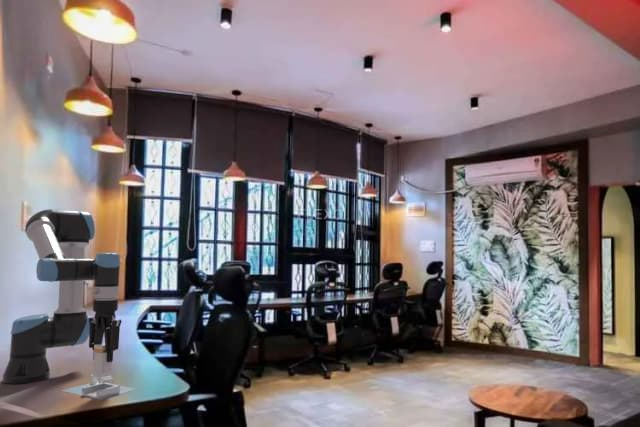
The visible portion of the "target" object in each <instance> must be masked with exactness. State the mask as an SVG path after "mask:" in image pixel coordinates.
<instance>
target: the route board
mask: <svg viewBox="0 0 640 427" xmlns="http://www.w3.org/2000/svg"><path fill="white" fill-rule="evenodd" d="M97 382H99V380H97ZM88 386H91V385H90V382H89V383H86V384H82V385H78V386H73V387H69V388H65V389H62V390H60V391H61V392H65V393H69V394H73V395H77V396H81V397H83V396H82V388H84V387H88ZM119 386H120V393H118V394H115V395H111V396H108V397H105V398H101V399H97V400H99V401H101V400H104V399H108V398H112V397H115V396H118V395H122V394H125V393H128V392H133V391H135V390H137V388H133V387H128V386H125V385H124V386H123V385H119ZM84 397H85V398H87V397H86V396H84ZM88 398H90V397H88ZM90 399H91V398H90Z"/></svg>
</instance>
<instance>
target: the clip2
mask: <svg viewBox="0 0 640 427" xmlns="http://www.w3.org/2000/svg"><path fill="white" fill-rule="evenodd" d="M113 379H114V378H113V377H112V375H109V376H106V377H102V381H101V383H103V382H105V383H110V384H114V383H113V382H114V380H113Z"/></svg>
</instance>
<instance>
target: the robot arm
mask: <svg viewBox="0 0 640 427" xmlns="http://www.w3.org/2000/svg"><path fill="white" fill-rule="evenodd" d="M24 228H25V229H24V230H25V234H26V236H27V238H28V240H30V241H31V242H32V243H33V246H34V248H35V250H36V253H37V255H38V258H39V259H38V261H37V263H36V270H35V271H36V272H35V274H36V277H37V280H38V281H40V282H50V283H52V282H59V284H58V288H59V289H58V303H57V304H58V306H57V309H55V311H53V316H51V317H50V316H49V315H48V314H47V313H39V314H38V313H37V314H32V315H27V316H21V317H19V318H16V319H14V321H13V322H12V325H11V331H10V334H11V336H10V347H9V348H10V349H9V351H10V352H9V359H8V362H7V365H6V368H5V369H4V372H3V375H2V383H5V384H8V385H9V384H11V385H12V384H13V385H17V384H18V385H20V384H30V383H36V382H40V381H43V380H47V379H49V378H50V376H51V369H50V367H49V362H48V360H47V349H53V348H54V349H55V348H62V347H75V346H80V345H83V344H85V343H86V342H87V341H88V347H89V349H92V351H93V353H92V356H93V357H92V358H93V359H92V360H93V361H94V345H96V344H102V343H103V341H104V343H105V348H106V351H104V359H103V373H107V372H111V371H112V372H113V361H114V351H118V350H119V343H120V329H121V328H120V327H121V325H122V319H120V318H119V319H118V318H116V313H115V312H117V311H118V307H119V306H118V305H119V301H118V298H119V290H120V288H119V285H120V270H121V268H120V267H121V257H120V254H119V253H118V252H117V253H116V252H98V253H96V254H95V257H94V258H85V252H86V251H85V249H86V247H87V246H88V245H89V244H90V241H92V240H93V239H94V236H95V233H96V232H95V231H96V228H95V221H94V217H93V215H92V214H91V213H89V212H88V211H80V210H65V209H64V210H63V209H52V208H51V209H44V210H41V211H38V212H36V213H34V214H33V215H32V216H31V217H30V218H28V220H27V222H26V225H25V227H24ZM84 281H94V284H93V287H94V289H93V299H95V300H93V301H92V302H93V303H92V311H93V312H94V313H95V314H94V316H93V317H91V316H90V315H89V314H87V309H85V308H84V307H83V303H84V302H83V300H84V298H83V297H84ZM109 347H110V348H109ZM93 364H94V362H93Z"/></svg>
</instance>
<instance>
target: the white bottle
mask: <svg viewBox="0 0 640 427" xmlns="http://www.w3.org/2000/svg"><path fill="white" fill-rule="evenodd" d="M109 348H110V347H109ZM104 351H106V348H105V342H102V344H96V345H94V360H93V363H94V364H93V366H92V375H93V376H95V377H98V378H99V377H105V376H106V377H107V376H112V375H113V373H112V372H113V370H112V371H111V372H107V373H103V359H104Z"/></svg>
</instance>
